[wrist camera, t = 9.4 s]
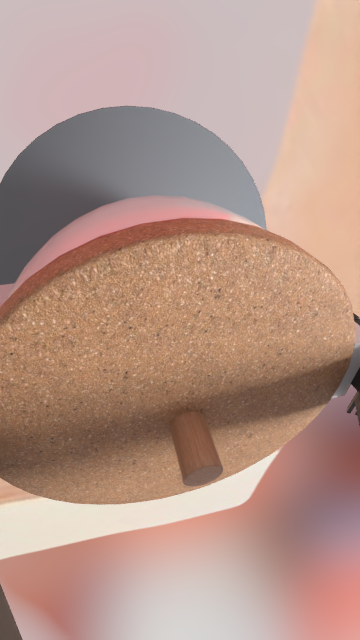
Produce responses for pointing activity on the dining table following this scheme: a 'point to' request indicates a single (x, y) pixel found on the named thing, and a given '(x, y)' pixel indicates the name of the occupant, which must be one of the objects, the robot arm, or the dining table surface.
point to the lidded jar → (163, 352)
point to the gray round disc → (114, 175)
